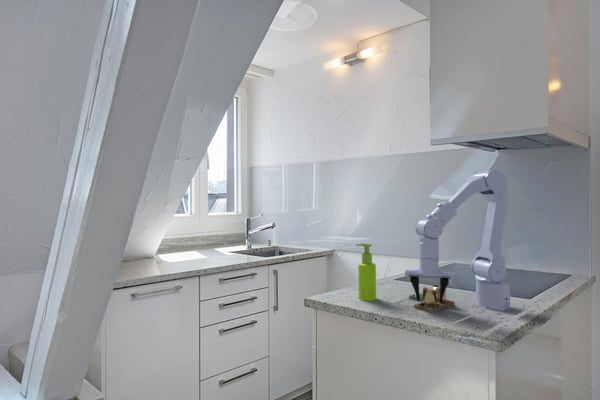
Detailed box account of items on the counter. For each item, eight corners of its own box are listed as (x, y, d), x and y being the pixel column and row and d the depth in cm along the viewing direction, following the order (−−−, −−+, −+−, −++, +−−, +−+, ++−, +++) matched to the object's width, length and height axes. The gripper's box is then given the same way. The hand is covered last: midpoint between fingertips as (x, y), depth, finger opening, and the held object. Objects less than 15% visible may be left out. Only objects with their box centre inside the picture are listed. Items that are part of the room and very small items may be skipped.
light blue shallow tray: (425, 306, 129) (425, 302, 129) (411, 311, 123) (411, 307, 123) (407, 302, 134) (407, 298, 134) (394, 306, 128) (394, 302, 128)
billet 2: (448, 306, 126) (448, 285, 126) (442, 308, 123) (442, 287, 123) (437, 303, 129) (436, 283, 129) (430, 305, 126) (430, 285, 126)
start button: (425, 301, 133) (425, 293, 133) (421, 303, 131) (420, 294, 131) (418, 299, 136) (418, 291, 136) (413, 301, 134) (413, 293, 134)
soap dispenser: (363, 298, 140) (362, 242, 140) (379, 301, 135) (378, 243, 135) (352, 301, 135) (352, 243, 135) (369, 305, 131) (368, 245, 130)
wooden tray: (456, 308, 125) (456, 301, 125) (435, 317, 117) (435, 309, 117) (433, 304, 131) (433, 297, 131) (412, 311, 123) (412, 304, 123)
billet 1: (437, 308, 123) (437, 287, 122) (434, 312, 119) (434, 290, 119) (424, 307, 125) (424, 286, 125) (421, 310, 121) (421, 289, 121)
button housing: (430, 302, 133) (430, 295, 133) (422, 305, 130) (422, 298, 130) (417, 299, 137) (417, 293, 137) (409, 302, 134) (408, 295, 134)
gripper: (453, 256, 123) (454, 299, 123) (406, 255, 128) (406, 296, 128) (454, 260, 116) (454, 305, 117) (404, 258, 121) (404, 301, 121)
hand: (429, 301), depth 122 cm, fingers open, 6 cm apart
